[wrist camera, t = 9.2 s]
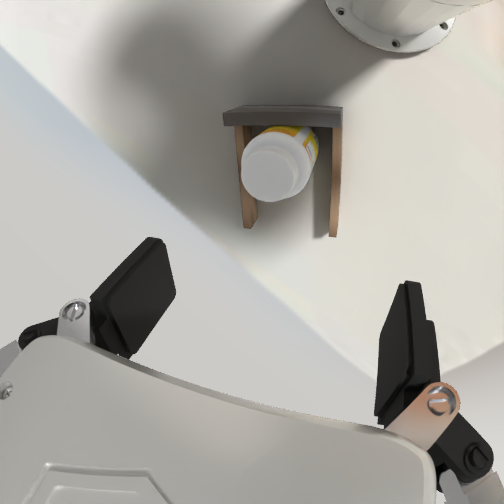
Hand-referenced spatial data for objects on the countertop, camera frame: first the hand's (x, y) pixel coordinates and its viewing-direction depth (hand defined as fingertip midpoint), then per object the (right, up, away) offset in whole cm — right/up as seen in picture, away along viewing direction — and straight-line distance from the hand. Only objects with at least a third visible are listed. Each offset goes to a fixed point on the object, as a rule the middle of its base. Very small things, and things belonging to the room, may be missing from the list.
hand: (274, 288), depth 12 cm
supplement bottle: (+3, +12, +18) cm, 22 cm away
